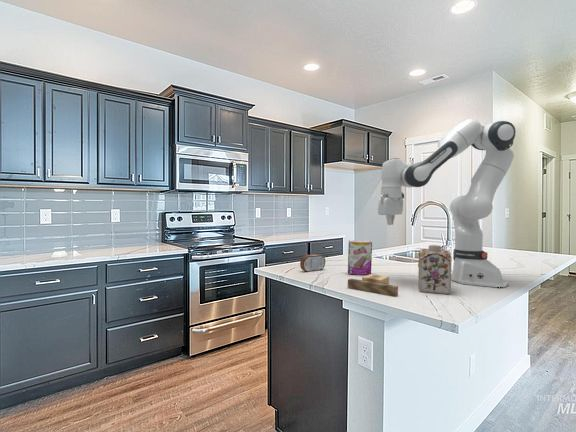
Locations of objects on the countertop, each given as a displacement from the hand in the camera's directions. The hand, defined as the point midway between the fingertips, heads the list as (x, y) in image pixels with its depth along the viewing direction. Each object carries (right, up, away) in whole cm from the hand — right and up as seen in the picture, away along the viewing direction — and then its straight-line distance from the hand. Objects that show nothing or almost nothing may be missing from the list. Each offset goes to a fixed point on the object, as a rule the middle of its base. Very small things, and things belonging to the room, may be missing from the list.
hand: (390, 224), depth 154 cm
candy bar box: (-11, -25, +12) cm, 30 cm away
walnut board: (-14, -26, -20) cm, 35 cm away
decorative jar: (+12, -26, -17) cm, 33 cm away
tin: (-34, -24, +20) cm, 46 cm away
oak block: (-11, -26, -16) cm, 32 cm away
